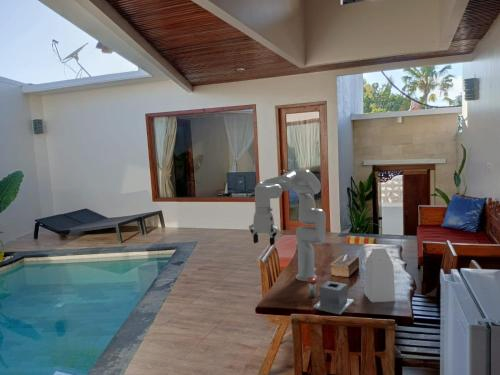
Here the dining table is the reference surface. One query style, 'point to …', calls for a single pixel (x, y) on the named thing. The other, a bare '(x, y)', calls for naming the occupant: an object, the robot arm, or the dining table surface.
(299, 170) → the robot arm
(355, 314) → the dining table surface
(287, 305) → the dining table surface
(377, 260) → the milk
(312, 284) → the pin
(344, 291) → the receiver
